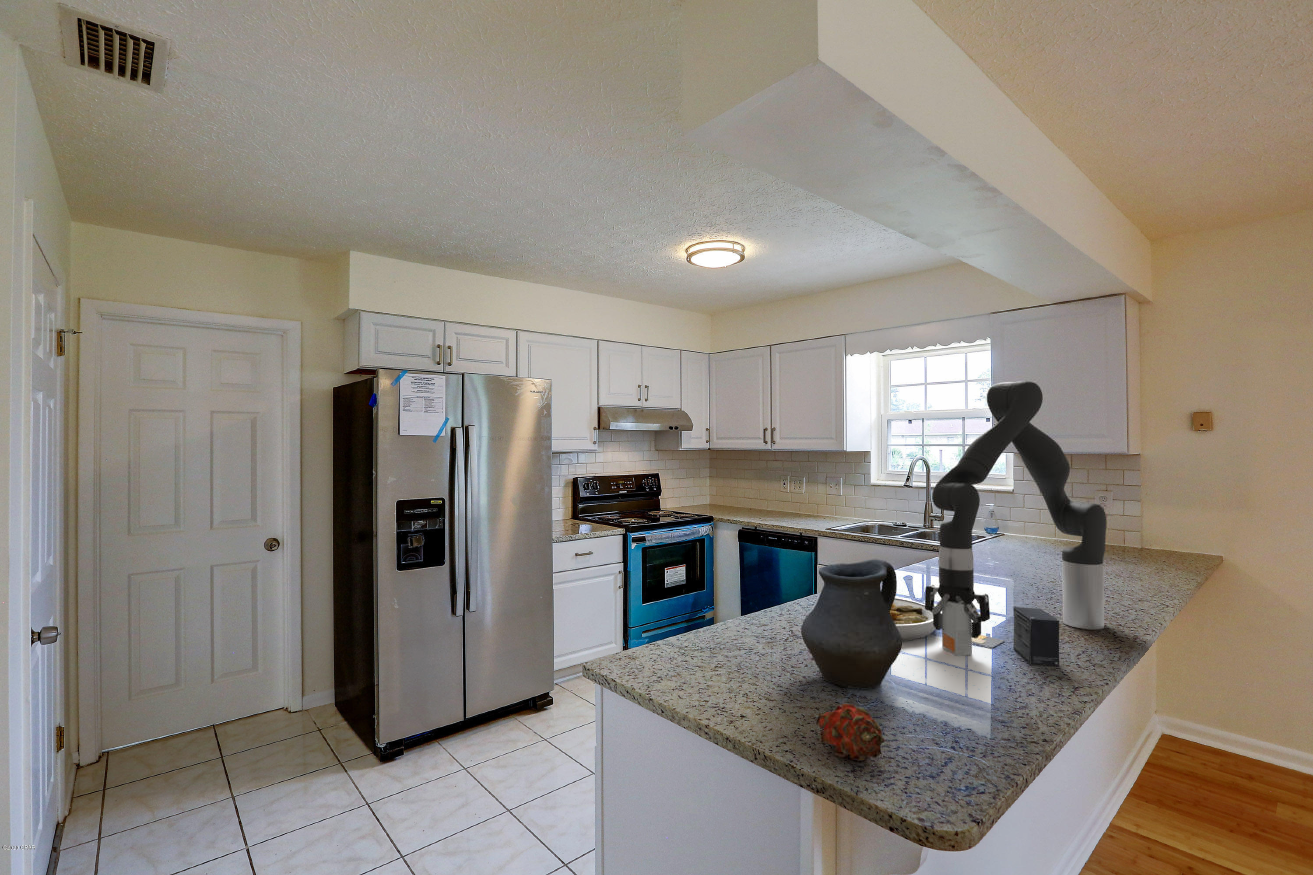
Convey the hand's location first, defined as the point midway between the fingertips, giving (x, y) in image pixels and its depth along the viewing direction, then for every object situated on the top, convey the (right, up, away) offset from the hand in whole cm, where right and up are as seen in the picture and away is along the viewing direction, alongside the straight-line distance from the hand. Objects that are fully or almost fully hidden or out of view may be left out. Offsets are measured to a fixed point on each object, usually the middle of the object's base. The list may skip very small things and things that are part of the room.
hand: (956, 633), depth 147 cm
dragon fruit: (-41, -5, -47) cm, 63 cm away
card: (+9, -4, +8) cm, 13 cm away
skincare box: (0, -5, 0) cm, 5 cm away
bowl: (-11, -5, +21) cm, 24 cm away
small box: (+16, -4, -5) cm, 17 cm away
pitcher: (-30, -5, -17) cm, 35 cm away
